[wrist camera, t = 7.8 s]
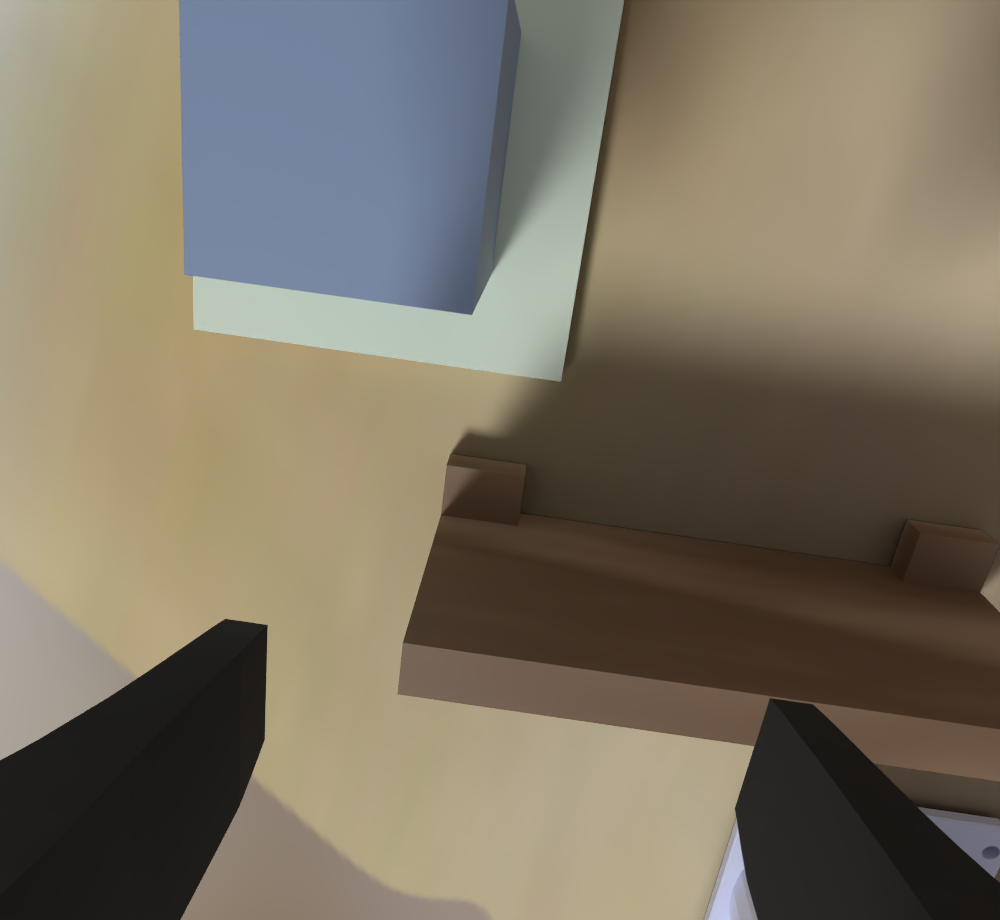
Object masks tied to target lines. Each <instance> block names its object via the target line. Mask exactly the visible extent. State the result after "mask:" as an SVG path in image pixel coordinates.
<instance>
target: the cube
mask: <svg viewBox="0 0 1000 920" xmlns="http://www.w3.org/2000/svg"><path fill="white" fill-rule="evenodd" d="M179 19H180V70H181V122H182V174H183V226H184V275H190V276H197V277H205V278H212V279H219V280H226V281H233V282H240V283H247V284H254V285H261V286H269V287H276V288H283V289H290V290H297V291H304V292H311V293H318V294H326V295H333V296H340V297H347V298H354V299H361V300H368V301H375V302H382V303H390V304H397V305H404V306H411V307H418V308H425V309H432V310H439V311H447V312H454V313H461V314H468V315H472V314H473V312H474V310H475V308H476V305H477V303H478V301H479V299H480V297H481V295H482V293H483V291H484V289H485V287H486V285H487V283H488V281H489V279H490V277H491V274H492V266H493V258H494V250H495V242H496V234H497V226H498V218H499V210H500V201H501V193H502V185H503V177H504V169H505V161H506V153H507V145H508V136H509V128H510V120H511V112H512V104H513V96H514V88H515V80H516V72H517V63H518V55H519V47H520V39H521V28H520V23H519V18H518V14H517V9H516V4H515V0H179Z"/></svg>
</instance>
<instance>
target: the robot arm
mask: <svg viewBox="0 0 1000 920" xmlns="http://www.w3.org/2000/svg"><path fill="white" fill-rule="evenodd" d="M266 660H267V625H263V624H256V623H249V622H242V621H236V620H229V619H225V620H223V621H221V622H220V623H218V624H217V625H215V626H214V627H212V628H211V629H209V630H208V631H206V632H205V633H204V634H202V635H201V636H199V637H198V638H196V639H195V640H193V641H192V642H190V643H189V644H187V645H186V646H185V647H183V648H182V649H180V650H179V651H177V652H176V653H174V654H173V655H171V656H170V657H169V658H167V659H166V660H164V661H163V662H161V663H160V664H158V665H157V666H155V667H154V668H152V669H151V670H150V671H148V672H147V673H145V674H144V675H142V676H141V677H139V678H137V679H136V680H134V681H133V682H131V683H130V684H128V685H127V686H125V687H124V688H122V689H121V690H119V691H118V692H116V693H115V694H113V695H112V696H110V697H109V698H107V699H105V700H104V701H102V702H100V703H99V704H97V705H95V706H94V707H92V708H90V709H89V710H87V711H85V712H84V713H82V714H81V715H79V716H77V717H75V718H74V719H72V720H71V721H69V722H67V723H66V724H64V725H62V726H60V727H59V728H57V729H55V730H54V731H52V732H50V733H49V734H47V735H46V736H44V737H43V738H40V739H39V740H37V741H35V742H33V743H32V744H30V745H28V746H26V747H25V748H23V749H21V750H19V751H17V752H15V753H14V754H12V755H10V756H8V757H6V758H4V759H2V760H0V920H180V919H181V917H182V916H183V914H184V912H185V910H186V908H187V906H188V904H189V902H190V900H191V898H192V896H193V895H194V893H195V891H196V888H197V887H198V885H199V883H200V881H201V879H202V877H203V875H204V874H205V872H206V869H207V868H208V866H209V864H210V862H211V860H212V858H213V856H214V855H215V853H216V851H217V849H218V846H219V845H220V843H221V841H222V839H223V837H224V835H225V833H226V831H227V829H228V827H229V826H230V823H231V822H232V819H233V818H234V816H235V814H236V812H237V810H238V808H239V806H240V803H241V801H242V798H243V796H244V793H245V790H246V788H247V785H248V783H249V780H250V778H251V775H252V772H253V770H254V767H255V764H256V761H257V759H258V756H259V753H260V750H261V748H262V745H263V742H264V740H265V700H266ZM735 811H736V821H735V824H734V827H733V830H732V833H731V837H730V840H729V843H728V846H727V849H726V852H725V855H724V858H723V862H722V865H721V868H720V871H719V874H718V877H717V880H716V884H715V887H714V890H713V893H712V896H711V899H710V902H709V905H708V909H707V912H706V915H705V918H704V920H1000V883H999V882H998V881H997V880H996V879H995V876H996V874H997V872H998V870H999V868H1000V819H997V818H990V817H983V816H976V815H970V814H963V813H956V812H949V811H942V810H935V809H928V808H922V807H917V806H916V805H915V804H914V803H913V802H912V801H911V800H910V799H909V798H908V797H907V796H906V795H905V794H904V793H903V792H902V791H901V790H900V789H899V788H898V787H897V786H896V785H895V784H894V783H893V782H892V781H891V780H890V779H889V778H888V777H887V776H886V775H885V774H884V773H883V772H882V771H881V770H880V769H879V768H878V767H877V766H876V765H875V764H874V763H873V762H872V761H871V760H870V759H869V758H868V757H867V756H866V755H865V754H864V753H863V752H862V751H861V750H860V749H859V748H858V747H857V746H856V745H855V744H854V743H853V742H852V741H851V740H850V739H849V738H848V737H847V736H846V735H845V734H844V733H843V732H842V731H841V730H840V729H839V728H838V727H837V726H836V725H835V724H834V723H833V722H832V721H830V720H829V719H828V718H827V717H826V716H825V715H824V714H823V713H822V712H821V711H820V710H819V709H818V708H816V707H815V706H814V705H813V704H808V703H801V702H794V701H787V700H780V699H773V698H770V699H769V703H768V706H767V709H766V712H765V715H764V718H763V722H762V725H761V728H760V731H759V734H758V737H757V741H756V744H755V747H754V750H753V753H752V756H751V759H750V763H749V766H748V769H747V772H746V775H745V778H744V782H743V785H742V788H741V791H740V794H739V797H738V801H737V804H736V807H735ZM989 846H990V847H989Z"/></svg>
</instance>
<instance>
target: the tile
mask: <svg viewBox="0 0 1000 920" xmlns="http://www.w3.org/2000/svg"><path fill="white" fill-rule="evenodd" d="M515 4H516V9H517V14H518V18H519V23H520V28H521V39H520V47H519V55H518V63H517V72H516V80H515V88H514V96H513V104H512V112H511V120H510V128H509V136H508V145H507V153H506V161H505V169H504V177H503V185H502V193H501V201H500V210H499V218H498V226H497V234H496V242H495V250H494V258H493V266H492V274H491V277H490V279H489V281H488V283H487V285H486V287H485V289H484V291H483V293H482V295H481V297H480V299H479V301H478V303H477V305H476V308H475V310H474V312H473V314H472V315H468V314H461V313H454V312H447V311H439V310H432V309H425V308H418V307H411V306H404V305H397V304H390V303H382V302H375V301H368V300H361V299H354V298H347V297H340V296H333V295H326V294H318V293H311V292H304V291H297V290H290V289H283V288H276V287H269V286H261V285H254V284H247V283H240V282H233V281H226V280H219V279H212V278H205V277H197V276H193V312H194V329H195V330H202V331H209V332H216V333H223V334H230V335H237V336H244V337H251V338H258V339H265V340H272V341H279V342H286V343H293V344H300V345H307V346H314V347H321V348H328V349H335V350H342V351H349V352H356V353H363V354H370V355H377V356H384V357H391V358H398V359H405V360H412V361H419V362H426V363H433V364H440V365H447V366H454V367H461V368H468V369H475V370H482V371H489V372H496V373H503V374H510V375H517V376H524V377H531V378H538V379H545V380H552V381H559V382H561V379H562V373H563V367H564V361H565V355H566V348H567V342H568V336H569V330H570V324H571V318H572V312H573V306H574V300H575V294H576V288H577V282H578V276H579V270H580V264H581V258H582V252H583V246H584V240H585V234H586V228H587V222H588V216H589V210H590V204H591V198H592V192H593V185H594V179H595V173H596V167H597V161H598V155H599V149H600V143H601V137H602V131H603V125H604V119H605V113H606V107H607V101H608V95H609V89H610V83H611V77H612V71H613V65H614V59H615V53H616V47H617V41H618V35H619V29H620V22H621V16H622V10H623V4H624V0H515Z"/></svg>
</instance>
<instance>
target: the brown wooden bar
mask: <svg viewBox="0 0 1000 920" xmlns="http://www.w3.org/2000/svg"><path fill="white" fill-rule="evenodd" d="M525 477H526V465H525V464H518V463H511V462H504V461H497V460H490V459H483V458H476V457H469V456H462V455H455V454H450V457H449V460H448V463H447V469H446V477H445V486H444V495H443V503H442V512H441V517H440V521H439V524H438V527H437V531H436V534H435V537H434V541H433V544H432V547H431V551H430V554H429V557H428V561H427V564H426V567H425V571H424V574H423V577H422V581H421V584H420V587H419V591H418V594H417V598H416V601H415V604H414V608H413V611H412V614H411V618H410V621H409V624H408V628H407V631H406V634H405V638H404V641H403V647H402V657H401V667H400V677H399V687H398V694H400V695H407V696H414V697H421V698H428V699H435V700H441V701H448V702H455V703H462V704H469V705H476V706H483V707H490V708H496V709H503V710H510V711H517V712H524V713H531V714H538V715H545V716H551V717H558V718H565V719H572V720H579V721H586V722H593V723H599V724H606V725H613V726H620V727H627V728H634V729H641V730H648V731H654V732H661V733H668V734H675V735H682V736H689V737H696V738H703V739H709V740H716V741H723V742H730V743H737V744H744V745H751V746H755V744H756V741H757V737H758V734H759V731H760V728H761V725H762V722H763V718H764V715H765V712H766V709H767V706H768V703H769V699H770V698H773V699H780V700H787V701H794V702H801V703H808V704H813V705H814V706H815V707H816V708H818V709H819V710H820V711H821V712H822V713H823V714H824V715H825V716H826V717H827V718H828V719H829V720H830V721H832V722H833V723H834V724H835V725H836V726H837V727H838V728H839V729H840V730H841V731H842V732H843V733H844V734H845V735H846V736H847V737H848V738H849V739H850V740H851V741H852V742H853V743H854V744H855V745H856V746H857V747H858V748H859V749H860V750H861V751H862V752H863V753H864V754H865V755H866V756H867V757H868V758H869V759H870V760H871V761H872V762H873V763H874V764H881V765H888V766H895V767H902V768H909V769H916V770H923V771H929V772H936V773H943V774H950V775H957V776H964V777H971V778H977V779H984V780H991V781H998V782H1000V612H999V611H998V610H997V609H996V608H995V607H994V606H993V605H992V604H991V603H990V602H989V601H988V600H987V599H986V598H985V597H984V596H983V595H982V594H981V593H980V592H981V589H982V587H983V584H984V582H985V580H986V577H987V575H988V572H989V570H990V568H991V565H992V563H993V560H994V558H995V555H996V553H997V551H998V548H999V546H1000V544H999V543H997V542H996V541H995V540H994V539H993V538H992V537H990V536H989V535H988V534H987V533H986V532H985V531H983V530H977V529H970V528H963V527H956V526H949V525H942V524H935V523H928V522H921V521H914V520H907V521H906V524H905V526H904V529H903V532H902V535H901V538H900V540H899V543H898V546H897V549H896V551H895V554H894V557H893V560H892V563H891V565H890V566H884V565H877V564H870V563H863V562H856V561H850V560H843V559H836V558H829V557H822V556H815V555H808V554H801V553H794V552H787V551H780V550H773V549H766V548H759V547H752V546H745V545H738V544H731V543H724V542H718V541H711V540H704V539H697V538H690V537H683V536H676V535H669V534H662V533H655V532H648V531H641V530H634V529H627V528H620V527H613V526H606V525H599V524H593V523H586V522H579V521H572V520H565V519H558V518H551V517H544V516H537V515H530V514H523V513H520V509H521V503H522V496H523V490H524V484H525Z"/></svg>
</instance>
